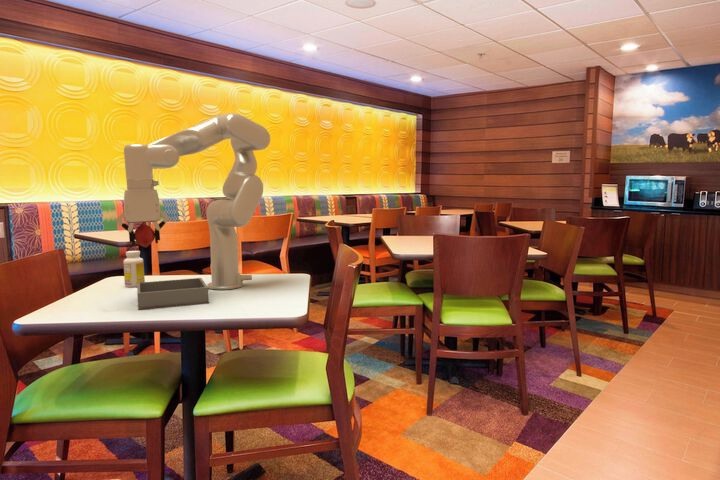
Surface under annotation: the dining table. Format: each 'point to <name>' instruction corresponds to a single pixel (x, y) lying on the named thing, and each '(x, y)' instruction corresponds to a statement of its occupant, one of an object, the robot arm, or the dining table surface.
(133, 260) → the supplement bottle
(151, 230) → the onion
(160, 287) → the bin
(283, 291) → the dining table surface
